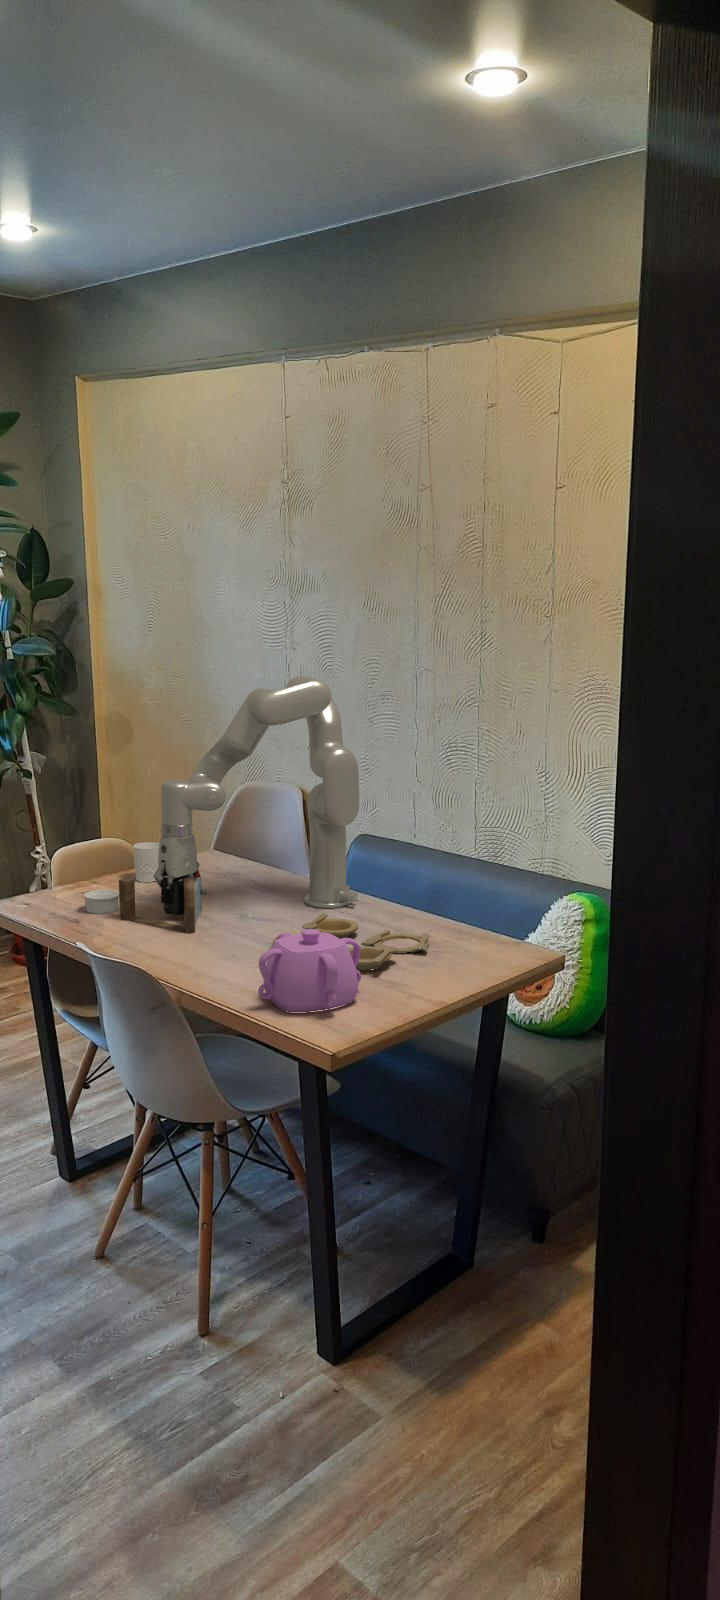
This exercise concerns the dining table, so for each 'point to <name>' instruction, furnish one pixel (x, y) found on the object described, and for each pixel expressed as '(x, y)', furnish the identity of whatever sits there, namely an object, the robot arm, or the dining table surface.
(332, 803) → the robot arm
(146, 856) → the white cup
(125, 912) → the door frame
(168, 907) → the supplement bottle
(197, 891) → the door
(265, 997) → the purple lidded pot
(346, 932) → the tableware set
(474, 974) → the dining table surface
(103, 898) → the ramekin
